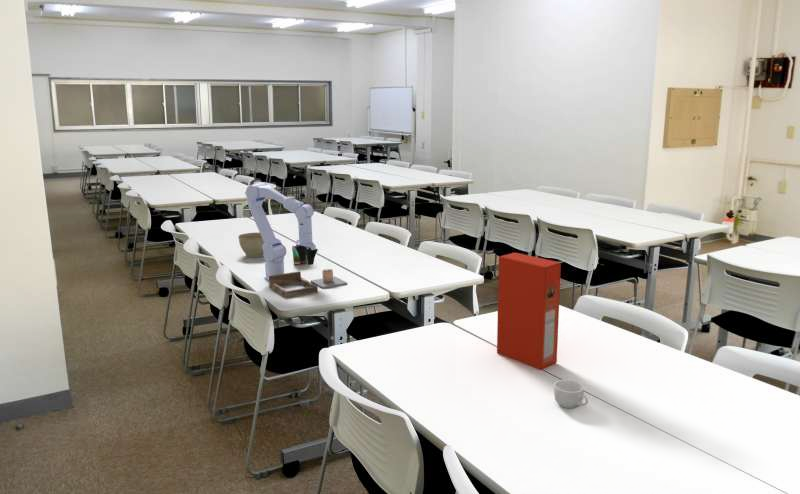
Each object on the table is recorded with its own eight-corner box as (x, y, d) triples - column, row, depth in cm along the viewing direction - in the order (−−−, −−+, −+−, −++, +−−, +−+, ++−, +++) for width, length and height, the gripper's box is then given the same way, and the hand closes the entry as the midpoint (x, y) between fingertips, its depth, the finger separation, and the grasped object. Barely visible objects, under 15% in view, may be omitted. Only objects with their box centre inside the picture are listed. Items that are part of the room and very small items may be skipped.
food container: (304, 266, 312) (303, 246, 310) (292, 266, 313) (291, 246, 311) (313, 260, 324) (312, 241, 321) (301, 260, 325) (300, 240, 322)
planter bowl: (276, 256, 333) (275, 235, 330) (246, 261, 324) (245, 240, 322) (264, 250, 346) (262, 230, 343) (235, 254, 337) (233, 234, 334)
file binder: (540, 370, 191) (544, 267, 184) (496, 353, 204) (498, 256, 197) (556, 363, 196) (561, 262, 189) (512, 347, 209) (515, 252, 202)
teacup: (546, 403, 171) (547, 384, 170) (566, 395, 176) (567, 377, 174) (577, 417, 163) (578, 398, 162) (596, 409, 168) (597, 390, 166)
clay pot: (320, 281, 283) (320, 270, 282) (329, 279, 286) (328, 268, 285) (326, 283, 280) (326, 272, 279) (335, 281, 283) (334, 270, 282)
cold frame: (269, 287, 279) (268, 276, 277) (300, 281, 286) (299, 271, 285) (285, 297, 263) (285, 286, 262) (317, 292, 271) (317, 280, 270)
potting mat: (310, 282, 285) (310, 280, 285) (335, 278, 292) (334, 276, 291) (322, 288, 276) (322, 286, 275) (347, 284, 282) (347, 282, 282)
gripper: (289, 231, 282) (291, 260, 285) (304, 236, 270) (306, 267, 273) (304, 229, 286) (305, 258, 289) (319, 234, 274) (320, 265, 277)
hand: (306, 262), depth 281 cm, fingers open, 7 cm apart
